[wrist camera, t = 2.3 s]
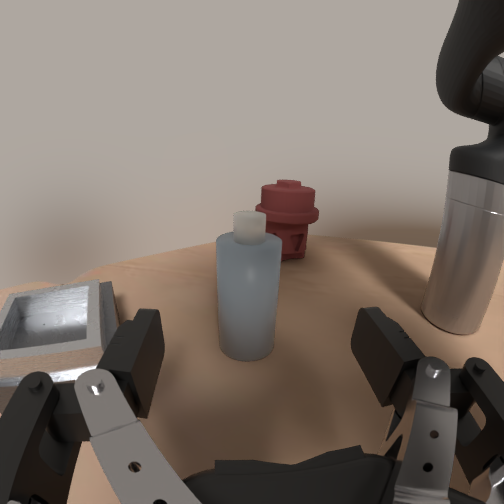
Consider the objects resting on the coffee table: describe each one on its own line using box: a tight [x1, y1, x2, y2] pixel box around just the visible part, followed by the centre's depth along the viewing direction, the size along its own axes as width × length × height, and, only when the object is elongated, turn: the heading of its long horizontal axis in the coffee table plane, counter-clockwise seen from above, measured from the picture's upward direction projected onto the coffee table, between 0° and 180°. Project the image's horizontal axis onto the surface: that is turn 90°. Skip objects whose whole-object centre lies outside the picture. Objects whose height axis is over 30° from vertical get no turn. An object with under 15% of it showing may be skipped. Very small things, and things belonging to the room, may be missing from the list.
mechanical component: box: [256, 180, 319, 261], centre depth 44 cm, size 12×10×10 cm
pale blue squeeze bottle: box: [216, 211, 282, 361], centre depth 23 cm, size 5×5×12 cm
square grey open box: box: [0, 279, 120, 414], centre depth 19 cm, size 12×14×6 cm
